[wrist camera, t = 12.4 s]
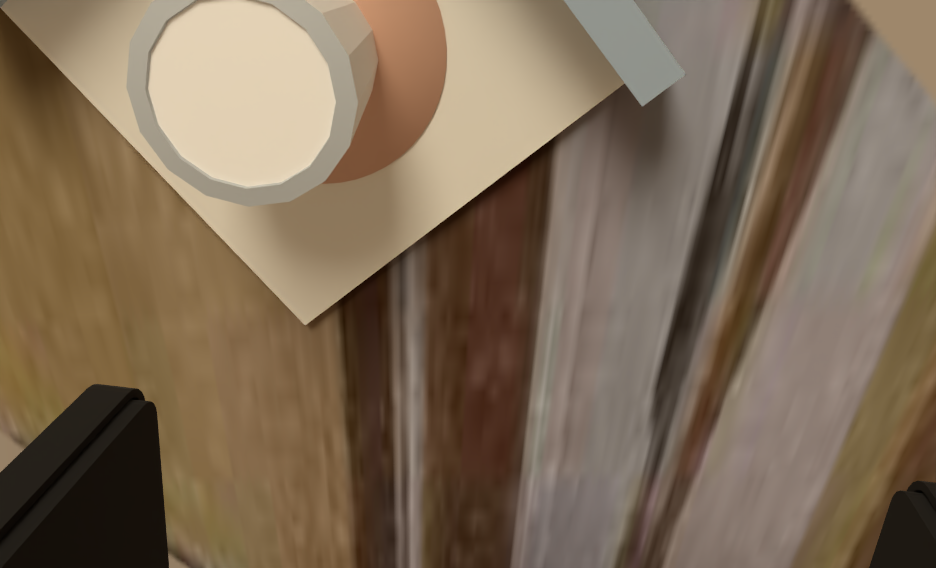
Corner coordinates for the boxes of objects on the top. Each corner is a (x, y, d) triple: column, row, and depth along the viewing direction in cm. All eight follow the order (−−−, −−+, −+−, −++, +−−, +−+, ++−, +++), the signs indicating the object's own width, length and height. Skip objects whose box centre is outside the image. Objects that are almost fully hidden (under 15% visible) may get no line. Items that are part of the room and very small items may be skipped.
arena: (664, 48, 30) (686, 74, 26) (308, 319, 36) (274, 378, 32) (324, -429, 26) (277, -501, 21) (-25, -30, 31) (-121, -18, 27)
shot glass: (297, -90, 29) (228, -87, 23) (434, 64, 31) (406, 107, 24) (171, 47, 31) (76, 84, 25) (305, 183, 33) (249, 251, 27)
